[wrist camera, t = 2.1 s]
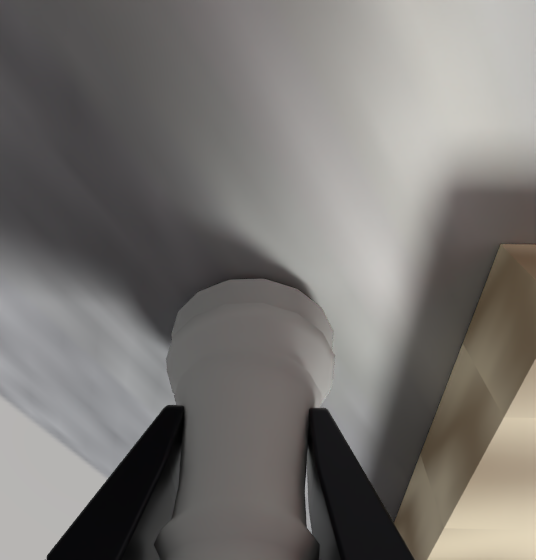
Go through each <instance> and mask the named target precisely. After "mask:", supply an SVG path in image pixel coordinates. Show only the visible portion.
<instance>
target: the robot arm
mask: <svg viewBox="0 0 536 560" xmlns="http://www.w3.org/2000/svg"><path fill="white" fill-rule="evenodd" d="M183 419H184V406H183V405H167V406H166V407H165V408H164V409H163V410H162V411H161V412H160V414H159V415H158V416H157V417H156V419H155V420H154V421H153V423H152V424H151V425H150V426H149V428H148V429H147V430H146V431H145V433H144V434H143V435H142V436H141V438H140V439H139V440H138V441H137V443H136V444H135V445H134V447H133V448H132V449H131V450H130V452H129V453H128V454H127V455H126V457H125V458H124V459H123V460H122V462H121V463H120V464H119V465H118V467H117V468H116V469H115V471H114V472H113V473H112V474H111V476H110V477H109V478H108V479H107V481H106V482H105V483H104V484H103V486H102V487H101V489H99V491H98V492H97V493H96V495H95V496H94V497H93V498H92V500H91V501H90V502H89V503H88V505H87V506H86V507H85V508H84V510H83V511H82V512H81V513H80V515H79V516H78V517H77V519H76V520H75V521H74V522H73V524H72V525H71V526H70V527H69V529H68V530H67V531H66V533H65V534H64V535H63V536H62V538H61V539H60V540H59V541H58V543H57V544H56V545H55V546H54V548H53V549H52V550H51V551H50V553H49V554H48V555H47V560H160V558H159V555H158V553H157V551H156V549H155V547H154V543H155V540H156V538H157V536H158V534H159V532H160V530H161V529H162V528H163V527H164V526H165V525H166V524H167V523H168V522H169V521H170V520H171V519H172V514H173V510H174V505H175V500H176V495H177V490H178V485H179V472H180V458H181V443H182V429H183ZM307 477H308V502H309V514H310V522H311V528H312V535H313V536H314V538H315V539H316V540H317V542H318V543H319V544H320V552H319V560H415V558H414V557H413V555H412V553H411V552H410V550H409V548H408V546H407V545H406V543H405V541H404V539H403V538H402V536H401V534H400V533H399V531H398V529H397V527H396V526H395V524H394V522H393V521H392V519H391V517H390V515H389V514H388V512H387V510H386V509H385V507H384V505H383V503H382V502H381V500H380V498H379V497H378V495H377V493H376V491H375V490H374V488H373V486H372V485H371V483H370V481H369V479H368V478H367V476H366V474H365V473H364V471H363V469H362V467H361V466H360V464H359V462H358V460H357V459H356V457H355V455H354V454H353V452H352V450H351V448H350V447H349V445H348V443H347V442H346V440H345V438H344V436H343V435H342V433H341V431H340V430H339V428H338V426H337V424H336V423H335V421H334V419H333V418H332V416H331V414H330V412H329V411H328V410H327V409H326V408H310V409H309V432H308V452H307Z"/></svg>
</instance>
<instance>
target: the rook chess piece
mask: <svg viewBox="0 0 536 560" xmlns="http://www.w3.org/2000/svg"><path fill="white" fill-rule="evenodd" d="M171 336H172V342H171V345H170V348H169V351H168V355H167V358H166V362H167V373H168V376H169V380H170V384H171V387H172V391H173V393H174V394H175V395H174V397H175V401H176V405H183V406H184V419H183V429H182V443H181V458H180V472H179V485H178V490H177V495H176V500H175V505H174V510H173V514H172V519H171V520H170V521H169V522H168V523H167V524H166V525H165V526H164V527H163V528H162V529H161V530H160V532H159V534H158V536H157V538H156V540H155V543H154V547H155V549H156V551H157V553H158V555H159V558H160V560H319V552H320V544H319V543H318V542H317V540H316V539H315V538H314V536H313V535H312V534H311V533H310V531H309V530H308V529H307V525H306V508H305V478H306V465H307V452H308V432H309V409H310V408H321V404H322V402H323V401H324V399H325V398H326V397H327V395H328V394H329V392H330V391H331V387H332V382H333V374H334V360H335V355H334V353H333V351H332V347H333V330H332V327H331V325H330V323H329V321H328V319H327V317H326V315H325V313H324V311H323V309H322V308H321V307H320V306H319V305H317V304H316V303H315V302H313V301H312V300H311V299H310V298H308V297H307V296H306V295H305V294H303V293H302V292H301V291H299V290H298V289H296V288H293V287H289V286H286V285H283V284H280V283H276V282H273V281H270V280H267V279H234V280H227V281H224V282H222V283H219V284H217V285H214V286H212V287H209V288H206V289H204V290H201V291H199V292H197V293H196V294H195V295H194V296H193V297H192V298H191V299H190V300H189V301H188V302H187V303H186V304H185V305H184V306H183V307H182V308H181V309H180V310H179V311H178V314H177V317H176V320H175V324H174V327H173V330H172V334H171Z"/></svg>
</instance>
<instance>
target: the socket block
mask: <svg viewBox="0 0 536 560" xmlns="http://www.w3.org/2000/svg"><path fill="white" fill-rule="evenodd" d="M394 524H395V526H396V527H397V529H398V531H399V533H400V534H401V536H402V538H403V539H404V541H405V543H406V545H407V546H408V548H409V550H410V552H411V553H412V555H413V557H414V558H415V560H536V244H500V247H499V250H498V252H497V255H496V258H495V260H494V263H493V265H492V268H491V271H490V273H489V276H488V278H487V281H486V284H485V286H484V289H483V292H482V294H481V297H480V299H479V302H478V305H477V307H476V310H475V312H474V315H473V318H472V320H471V323H470V326H469V328H468V331H467V333H466V336H465V339H464V341H463V344H462V346H461V349H460V352H459V354H458V357H457V360H456V362H455V365H454V367H453V370H452V373H451V375H450V378H449V380H448V383H447V386H446V388H445V391H444V394H443V396H442V399H441V401H440V404H439V407H438V409H437V412H436V414H435V417H434V420H433V422H432V425H431V428H430V430H429V433H428V435H427V438H426V441H425V443H424V446H423V448H422V451H421V454H420V456H419V459H418V462H417V464H416V467H415V469H414V472H413V475H412V477H411V480H410V482H409V485H408V488H407V490H406V493H405V496H404V498H403V501H402V503H401V506H400V509H399V511H398V514H397V516H396V519H395V522H394Z"/></svg>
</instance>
